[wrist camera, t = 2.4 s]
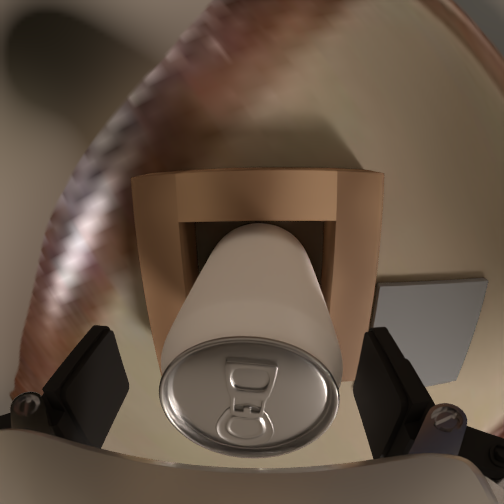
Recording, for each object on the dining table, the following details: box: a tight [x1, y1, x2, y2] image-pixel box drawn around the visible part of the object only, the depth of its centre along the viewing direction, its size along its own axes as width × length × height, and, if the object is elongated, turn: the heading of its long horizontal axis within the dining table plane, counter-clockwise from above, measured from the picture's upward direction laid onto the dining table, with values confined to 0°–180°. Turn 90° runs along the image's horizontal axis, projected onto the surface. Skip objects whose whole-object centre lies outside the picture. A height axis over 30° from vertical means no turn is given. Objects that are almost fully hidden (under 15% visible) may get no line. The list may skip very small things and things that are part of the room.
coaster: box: [370, 278, 488, 387], centre depth 21 cm, size 10×10×1 cm
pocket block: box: [131, 167, 384, 382], centre depth 18 cm, size 13×13×4 cm
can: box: [159, 223, 343, 458], centre depth 14 cm, size 6×6×12 cm
